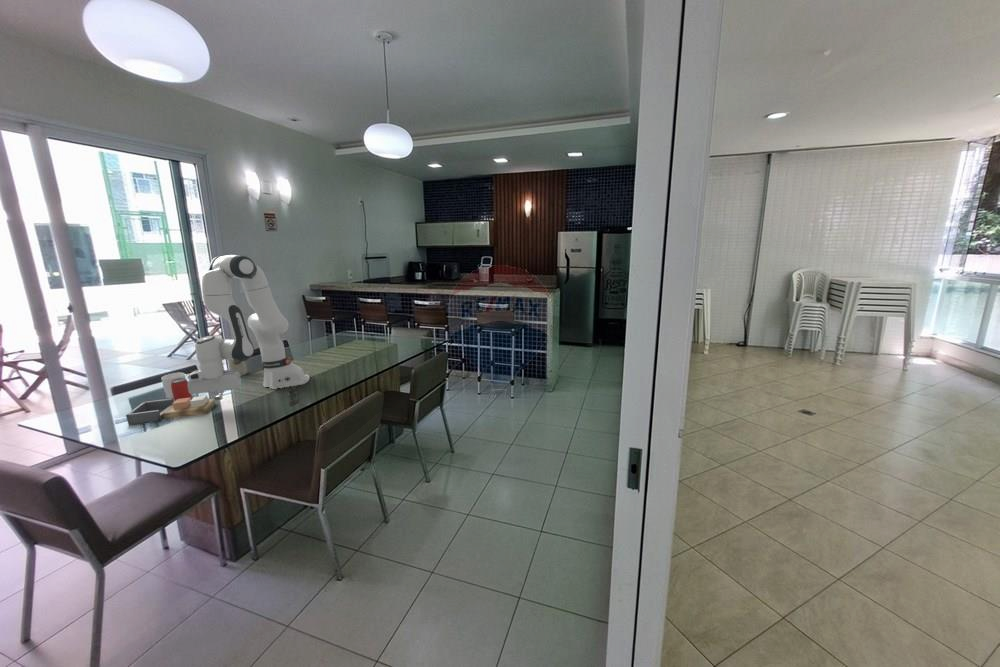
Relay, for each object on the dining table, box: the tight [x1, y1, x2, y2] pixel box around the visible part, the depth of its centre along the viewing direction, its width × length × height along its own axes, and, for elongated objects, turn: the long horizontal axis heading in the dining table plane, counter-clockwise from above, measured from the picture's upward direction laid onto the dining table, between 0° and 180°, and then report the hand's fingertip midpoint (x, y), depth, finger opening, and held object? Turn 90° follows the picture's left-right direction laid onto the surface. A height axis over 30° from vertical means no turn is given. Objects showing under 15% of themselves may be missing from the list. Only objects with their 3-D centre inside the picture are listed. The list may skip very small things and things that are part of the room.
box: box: [125, 398, 175, 427], centre depth 171 cm, size 11×14×5 cm
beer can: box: [171, 377, 193, 402], centre depth 183 cm, size 7×7×12 cm
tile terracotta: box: [172, 397, 191, 410], centre depth 174 cm, size 5×5×3 cm
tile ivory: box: [190, 395, 209, 407], centre depth 176 cm, size 5×5×3 cm
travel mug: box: [227, 360, 248, 376], centre depth 221 cm, size 8×8×18 cm
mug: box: [161, 372, 190, 400], centre depth 193 cm, size 12×9×11 cm
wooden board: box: [162, 398, 217, 420], centre depth 175 cm, size 16×11×3 cm
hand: (218, 399), depth 178 cm, fingers closed
